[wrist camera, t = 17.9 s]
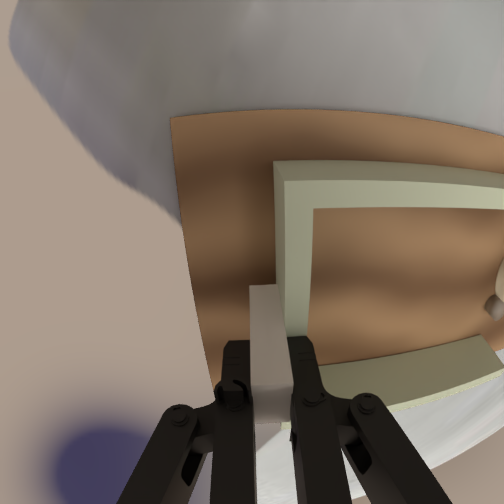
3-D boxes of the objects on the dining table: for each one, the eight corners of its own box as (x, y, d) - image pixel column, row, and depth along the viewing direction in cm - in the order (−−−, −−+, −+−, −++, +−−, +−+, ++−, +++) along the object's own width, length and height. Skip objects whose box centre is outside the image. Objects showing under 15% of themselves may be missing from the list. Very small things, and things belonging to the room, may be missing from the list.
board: (177, 117, 14) (161, 118, 11) (560, 156, 14) (582, 165, 11) (216, 384, 23) (214, 413, 20) (510, 334, 23) (523, 351, 20)
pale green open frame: (273, 160, 14) (284, 180, 10) (526, 178, 14) (569, 198, 10) (276, 378, 20) (281, 429, 16) (477, 342, 20) (500, 375, 16)
